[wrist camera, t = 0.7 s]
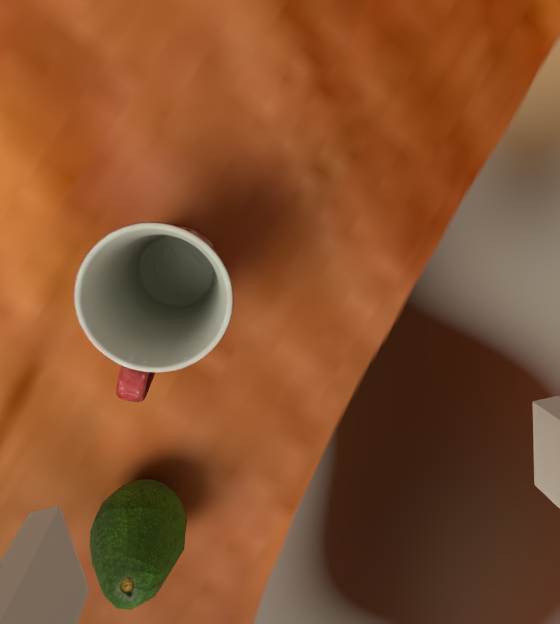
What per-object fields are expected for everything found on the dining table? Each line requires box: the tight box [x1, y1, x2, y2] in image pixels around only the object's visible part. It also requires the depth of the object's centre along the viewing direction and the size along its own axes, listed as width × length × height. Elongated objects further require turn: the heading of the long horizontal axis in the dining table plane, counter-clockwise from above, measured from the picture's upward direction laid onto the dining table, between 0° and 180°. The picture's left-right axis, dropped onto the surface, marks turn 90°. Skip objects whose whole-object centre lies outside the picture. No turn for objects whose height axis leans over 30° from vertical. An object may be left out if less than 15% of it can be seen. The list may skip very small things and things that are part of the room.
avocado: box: [90, 479, 187, 610], centre depth 39 cm, size 8×8×12 cm
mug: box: [73, 222, 233, 402], centre depth 34 cm, size 13×9×14 cm
